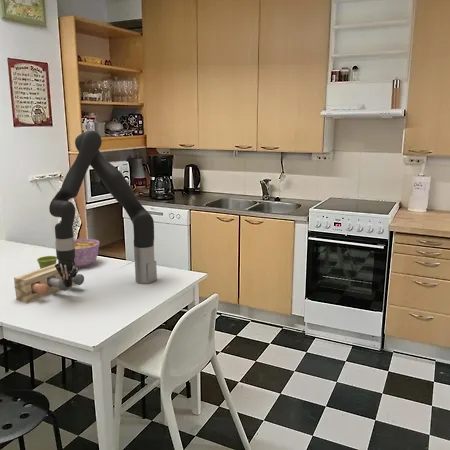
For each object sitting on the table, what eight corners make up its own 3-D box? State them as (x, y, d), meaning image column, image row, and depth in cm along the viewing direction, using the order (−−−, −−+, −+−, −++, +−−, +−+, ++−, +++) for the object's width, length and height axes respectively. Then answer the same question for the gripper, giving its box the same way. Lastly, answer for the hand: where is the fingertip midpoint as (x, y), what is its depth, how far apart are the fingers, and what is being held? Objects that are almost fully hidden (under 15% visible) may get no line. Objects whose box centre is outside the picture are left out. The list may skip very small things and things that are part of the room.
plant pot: (34, 277, 224) (32, 260, 222) (48, 271, 232) (46, 254, 230) (49, 279, 221) (47, 262, 219) (62, 273, 229) (61, 256, 227)
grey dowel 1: (70, 288, 201) (69, 278, 199) (61, 292, 197) (60, 281, 195) (53, 284, 206) (52, 274, 205) (44, 287, 202) (43, 277, 201)
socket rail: (75, 284, 214) (73, 263, 212) (27, 303, 193) (24, 280, 190) (65, 281, 218) (63, 261, 216) (16, 299, 196) (13, 277, 194)
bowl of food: (59, 261, 248) (58, 241, 245) (98, 257, 256) (96, 237, 253) (62, 272, 230) (60, 250, 227) (103, 267, 238) (102, 246, 235)
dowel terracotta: (49, 293, 196) (48, 282, 195) (40, 296, 192) (38, 286, 190) (32, 288, 201) (31, 278, 200) (23, 292, 197) (21, 281, 196)
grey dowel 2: (84, 283, 207) (83, 273, 206) (76, 286, 203) (75, 276, 202) (67, 279, 213) (66, 269, 212) (59, 282, 209) (58, 272, 207)
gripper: (83, 247, 193) (86, 286, 197) (61, 243, 199) (64, 281, 203) (69, 252, 187) (72, 292, 191) (47, 247, 193) (50, 286, 197)
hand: (68, 286), depth 197 cm, fingers closed
